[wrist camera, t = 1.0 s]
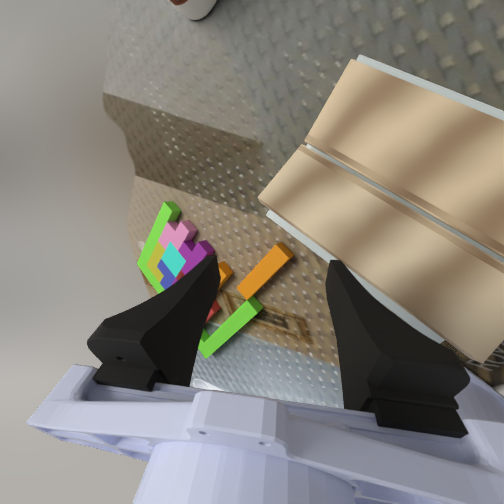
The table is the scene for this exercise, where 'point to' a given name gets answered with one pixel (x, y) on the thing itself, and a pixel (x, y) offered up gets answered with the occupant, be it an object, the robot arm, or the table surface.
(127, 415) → the robot arm
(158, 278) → the toy blocks
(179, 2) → the milk bottle
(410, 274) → the loose board
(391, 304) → the underlay mat
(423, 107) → the laid board
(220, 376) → the table surface
